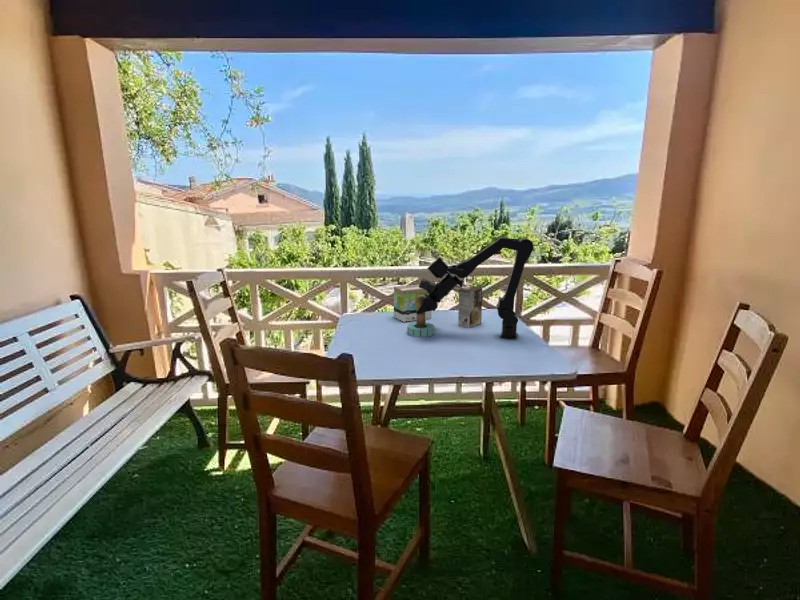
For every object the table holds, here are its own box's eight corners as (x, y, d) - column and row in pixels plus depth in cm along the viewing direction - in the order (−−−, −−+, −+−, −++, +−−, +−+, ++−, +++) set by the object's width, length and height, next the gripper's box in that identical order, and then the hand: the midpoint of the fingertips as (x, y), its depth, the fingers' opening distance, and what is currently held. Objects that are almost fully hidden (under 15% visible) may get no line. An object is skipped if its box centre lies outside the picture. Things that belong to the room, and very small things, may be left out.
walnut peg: (420, 326, 191) (420, 295, 188) (427, 328, 188) (427, 297, 185) (414, 328, 188) (414, 297, 185) (421, 329, 186) (421, 298, 183)
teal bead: (412, 328, 196) (412, 321, 195) (437, 330, 192) (437, 323, 191) (403, 335, 185) (403, 328, 185) (430, 338, 182) (430, 330, 181)
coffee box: (469, 321, 205) (470, 285, 202) (481, 323, 201) (483, 287, 197) (457, 325, 199) (458, 289, 195) (469, 328, 195) (470, 291, 191)
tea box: (403, 323, 203) (403, 290, 200) (393, 317, 212) (392, 286, 209) (432, 318, 210) (432, 287, 207) (421, 313, 219) (421, 283, 216)
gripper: (432, 268, 191) (406, 293, 196) (428, 276, 173) (400, 303, 178) (451, 287, 192) (425, 312, 196) (449, 297, 174) (420, 324, 178)
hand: (417, 312), depth 187 cm, fingers closed on walnut peg, 4 cm apart
